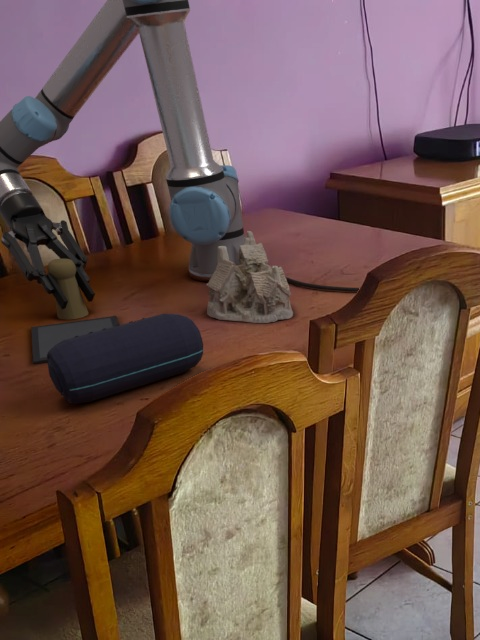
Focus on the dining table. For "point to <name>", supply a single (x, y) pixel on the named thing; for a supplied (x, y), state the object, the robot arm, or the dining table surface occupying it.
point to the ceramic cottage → (248, 287)
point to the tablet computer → (64, 334)
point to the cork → (68, 289)
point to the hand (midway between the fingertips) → (78, 301)
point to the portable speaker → (124, 357)
